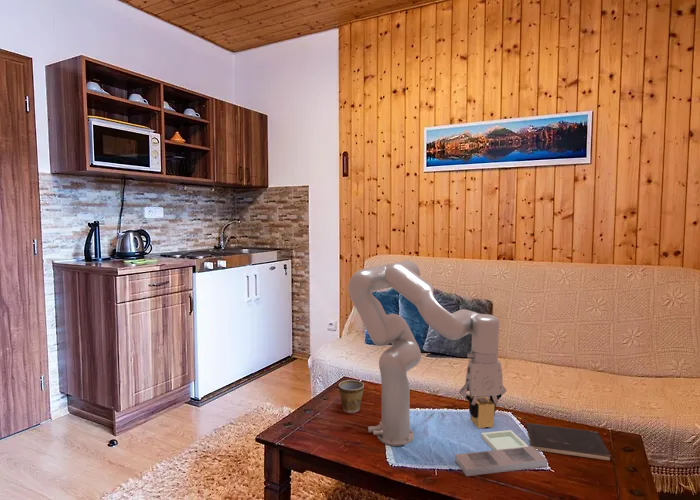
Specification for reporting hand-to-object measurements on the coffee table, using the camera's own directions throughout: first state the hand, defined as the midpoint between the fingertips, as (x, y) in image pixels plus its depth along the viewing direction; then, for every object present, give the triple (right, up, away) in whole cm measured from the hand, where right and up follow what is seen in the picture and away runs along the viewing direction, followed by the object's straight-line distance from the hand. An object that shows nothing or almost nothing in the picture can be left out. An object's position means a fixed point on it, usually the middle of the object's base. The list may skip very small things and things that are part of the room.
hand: (482, 414), depth 129 cm
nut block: (0, -3, 0) cm, 3 cm away
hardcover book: (+32, -16, +15) cm, 39 cm away
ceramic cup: (-39, -13, +42) cm, 59 cm away
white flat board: (+6, -16, +2) cm, 18 cm away
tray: (+12, -15, +13) cm, 23 cm away
